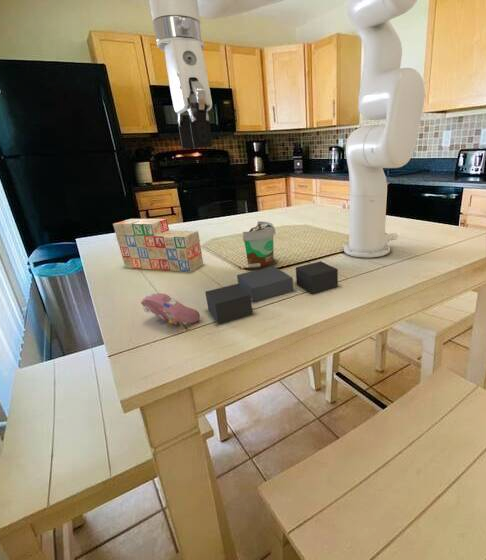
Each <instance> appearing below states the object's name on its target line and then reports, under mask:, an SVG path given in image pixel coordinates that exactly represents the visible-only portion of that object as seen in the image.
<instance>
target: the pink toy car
mask: <svg viewBox="0 0 486 560" xmlns="http://www.w3.org/2000/svg"><path fill="white" fill-rule="evenodd" d="M140 304H141V305H142V307H143V308H142V309H143V311H144V312H145V313H147V314H149V313H152V314H154V315H155V316H156V317H158V318H159V319H160V320H162V321H164V322H165V321H168V323H169V324H173V325H175V326H177V325H178V324H179V323H180V322H182V323H185V324H193V323H196V322H198V321H199V320H200V317H201V315H200V312H199V311H198V310H197V309H195V308H191V307H189V306H186V305H184V304H183V303H181V302H179V301H178V300H176V299H174V298H172V297H170V295H168V294H166V293H162V292H160V293H153V292H150V293H149V295H146V296H145V297H144V298H143V299H142V300H141V301H140Z"/></svg>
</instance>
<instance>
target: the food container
mask: <svg viewBox="0 0 486 560" xmlns="http://www.w3.org/2000/svg"><path fill="white" fill-rule="evenodd" d="M276 232H277V231H276V229H275V226H274V224H273V223H272V222H269V221H261V220H260V221H259V220H257V224H256V226H254V227H251V229H250V230H249V231H242V241H243V242H244V247H245V255H246V260H247V266H248V271H256V270H260V269H264V268H268V267H272V266H273V265H274V261H275V259H274V235H275V234H277V233H276Z"/></svg>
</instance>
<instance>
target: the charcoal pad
mask: <svg viewBox="0 0 486 560" xmlns="http://www.w3.org/2000/svg"><path fill="white" fill-rule="evenodd" d="M338 273H339V271H338V268H336V267H335V266H332V265H330V264H327V263H326V262H324V261H322V260H321V261H316V262H312V263H308V264H303V265H300V266H299V265H298V266H296V267H295V280H296V281H295V282H296V285H297V286H299V287H301V288H302V289H304V290H305V291H307V292H308V293H309V294H312V295H313V294H318V293H320V292H321V293H322V292H324V291H327V290H330V289H334V288H338V287H339V277H338V276H339V274H338Z"/></svg>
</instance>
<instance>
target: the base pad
mask: <svg viewBox="0 0 486 560" xmlns="http://www.w3.org/2000/svg"><path fill="white" fill-rule="evenodd" d="M236 279H237V284H239V285H240V286H241V287H242V288H243V289H245V290H246V291H247V292H248V293H249V294H250V296H251V301H253V302H258V301H263V300H265V299H269V298H273V297H276V296H280V295H283V294H286V293H291V292H294V279H293V277H292V276H290V275H289V274H287V273H286V272H284V271H283V270H281V269H279V268H278V267H276V266H274V265H271V266H269V267H267V268H263V269H257V270H250V271H247V272H242V273H239V274H236Z"/></svg>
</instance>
